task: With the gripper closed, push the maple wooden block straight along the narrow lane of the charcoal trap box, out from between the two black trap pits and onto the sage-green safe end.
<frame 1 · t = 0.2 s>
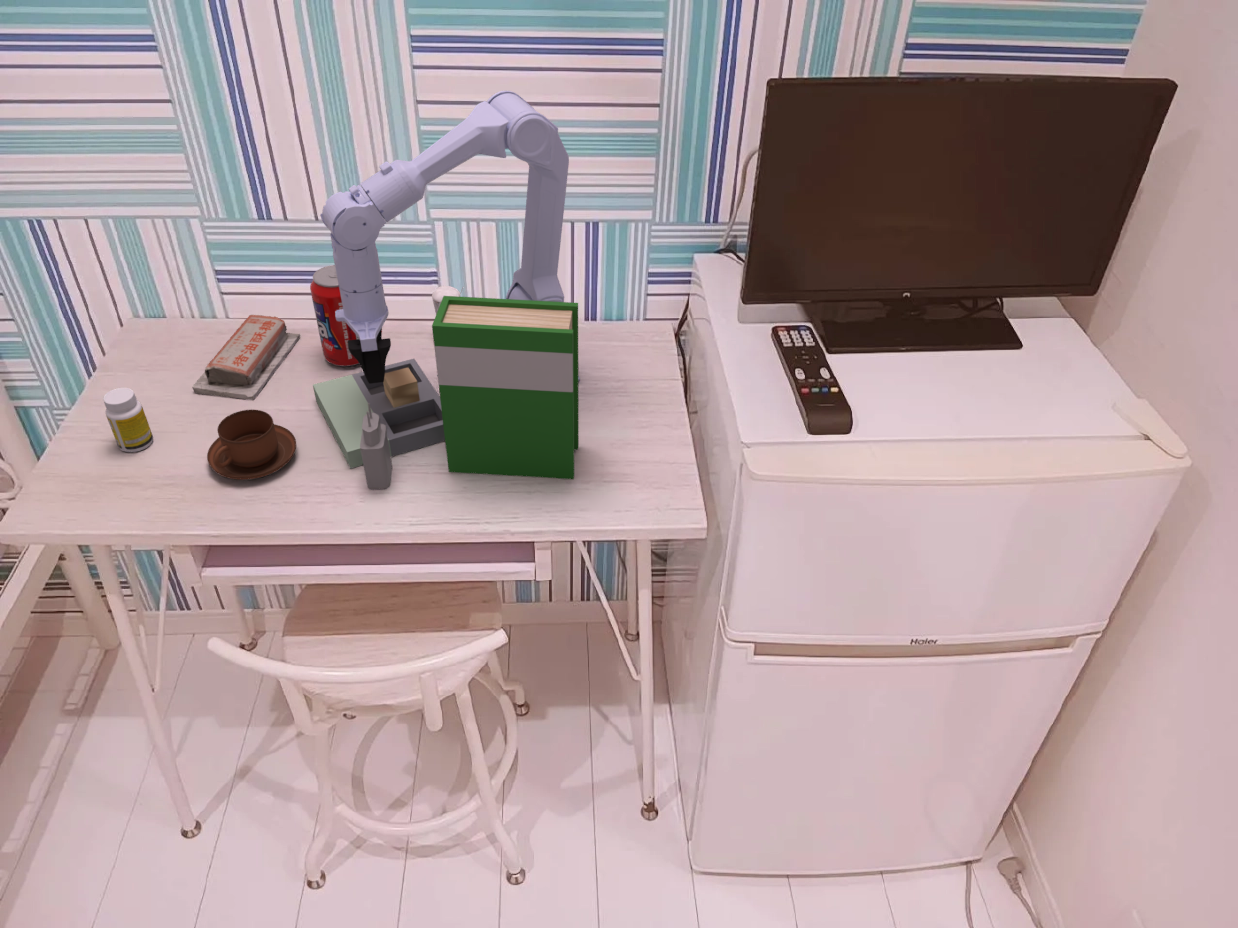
hand: (374, 366, 141), 10 cm above the table, tool pointing down, fingers open, 7 cm apart
maple block: (402, 397, 147), point 3 cm above the table, touching trap box
trap box: (385, 418, 148), on the table
packaged product: (250, 367, 158), on the table
hardback book: (514, 459, 141), on the table
milkshake: (452, 338, 165), on the table
soda can: (349, 357, 160), on the table
supplement bottle: (136, 444, 142), on the table
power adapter: (380, 477, 138), on the table
cup and saucer: (255, 460, 140), on the table
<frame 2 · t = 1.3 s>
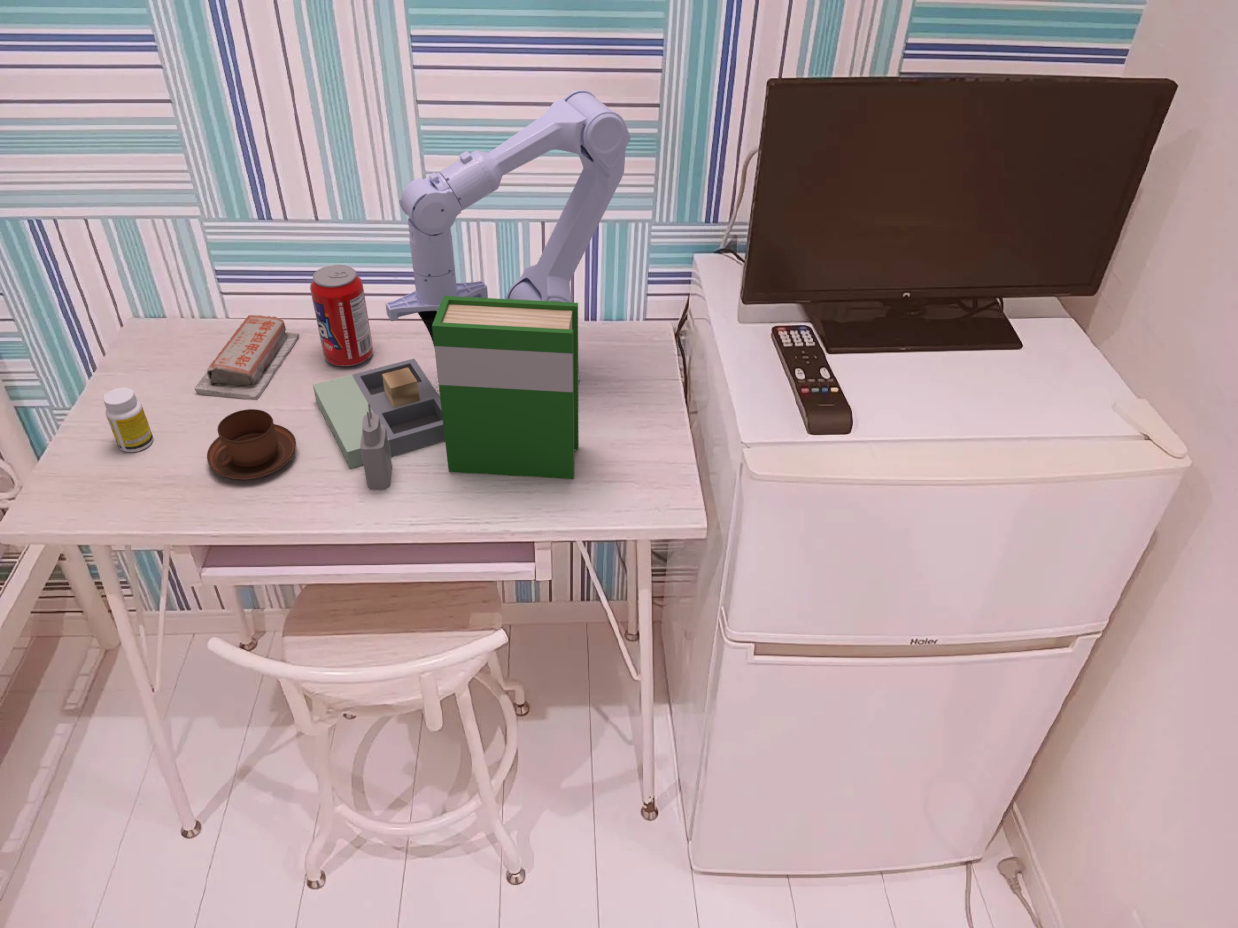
hand: (442, 349, 145), 9 cm above the table, tool pointing down, fingers closed
nothing on the table moved.
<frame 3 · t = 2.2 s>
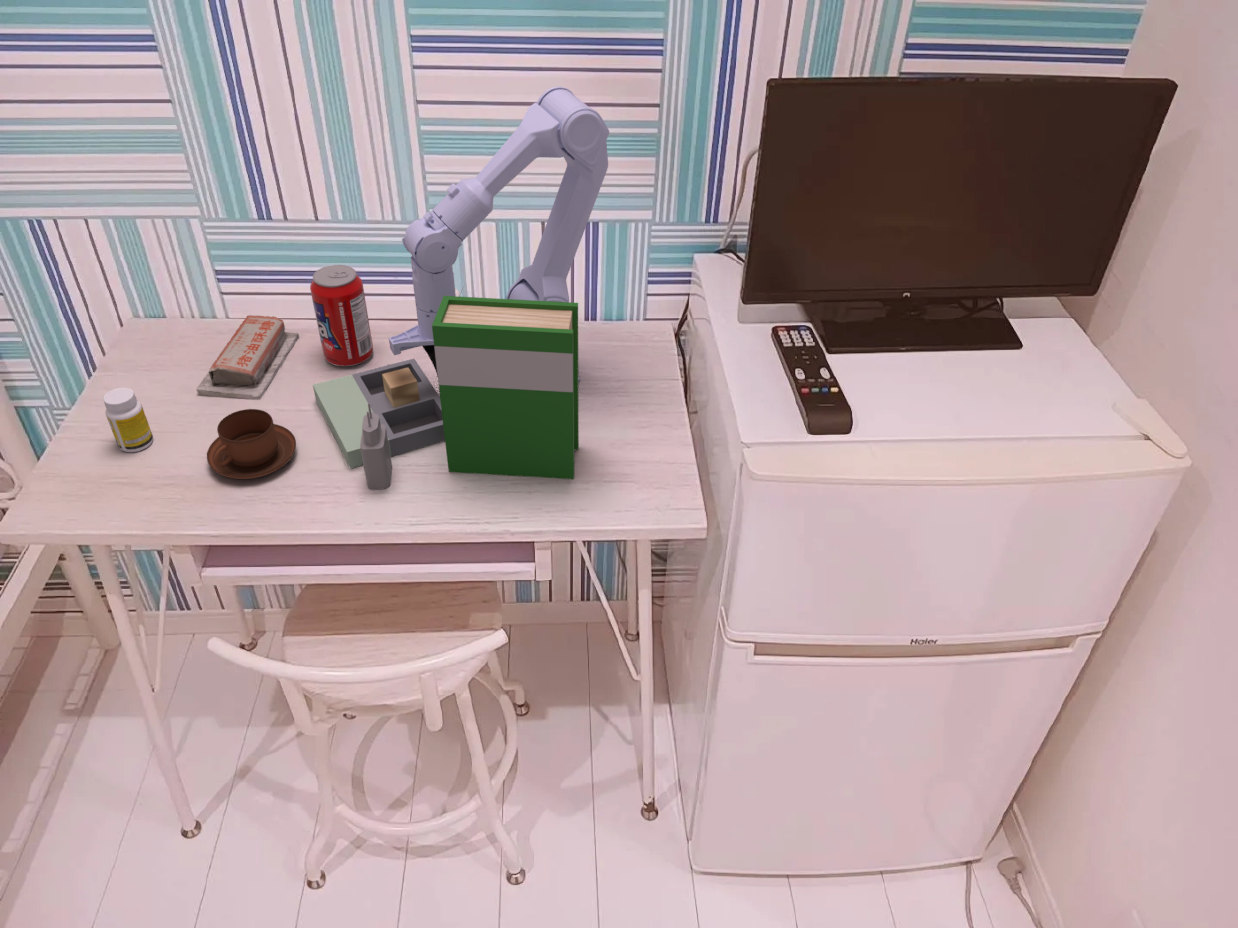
hand: (444, 381, 149), 4 cm above the table, tool pointing down, fingers closed
nothing on the table moved.
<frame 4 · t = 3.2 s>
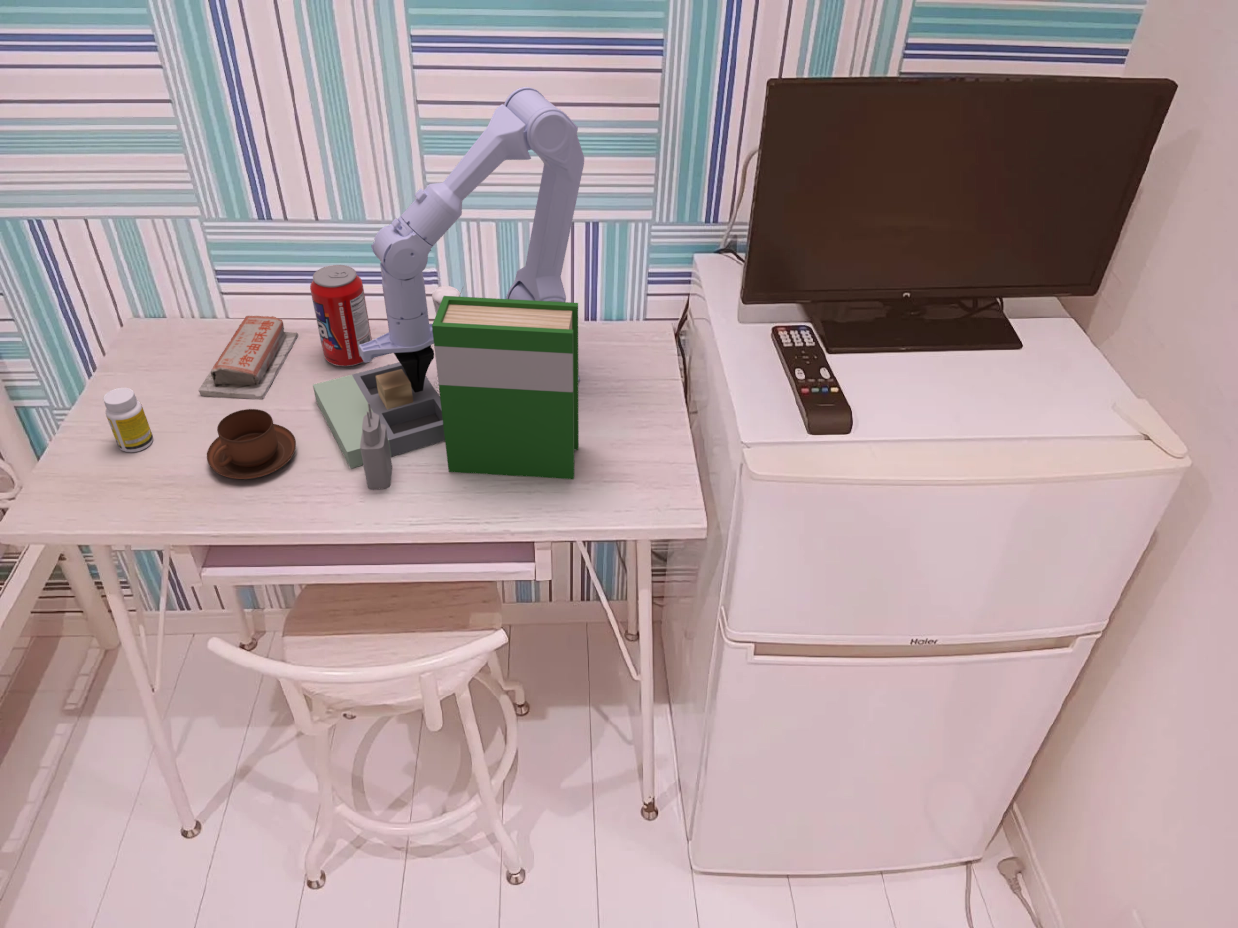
hand: (417, 388, 147), 4 cm above the table, tool pointing down, fingers closed
maple block: (395, 398, 146), point 3 cm above the table, touching gripper
everything else where it was.
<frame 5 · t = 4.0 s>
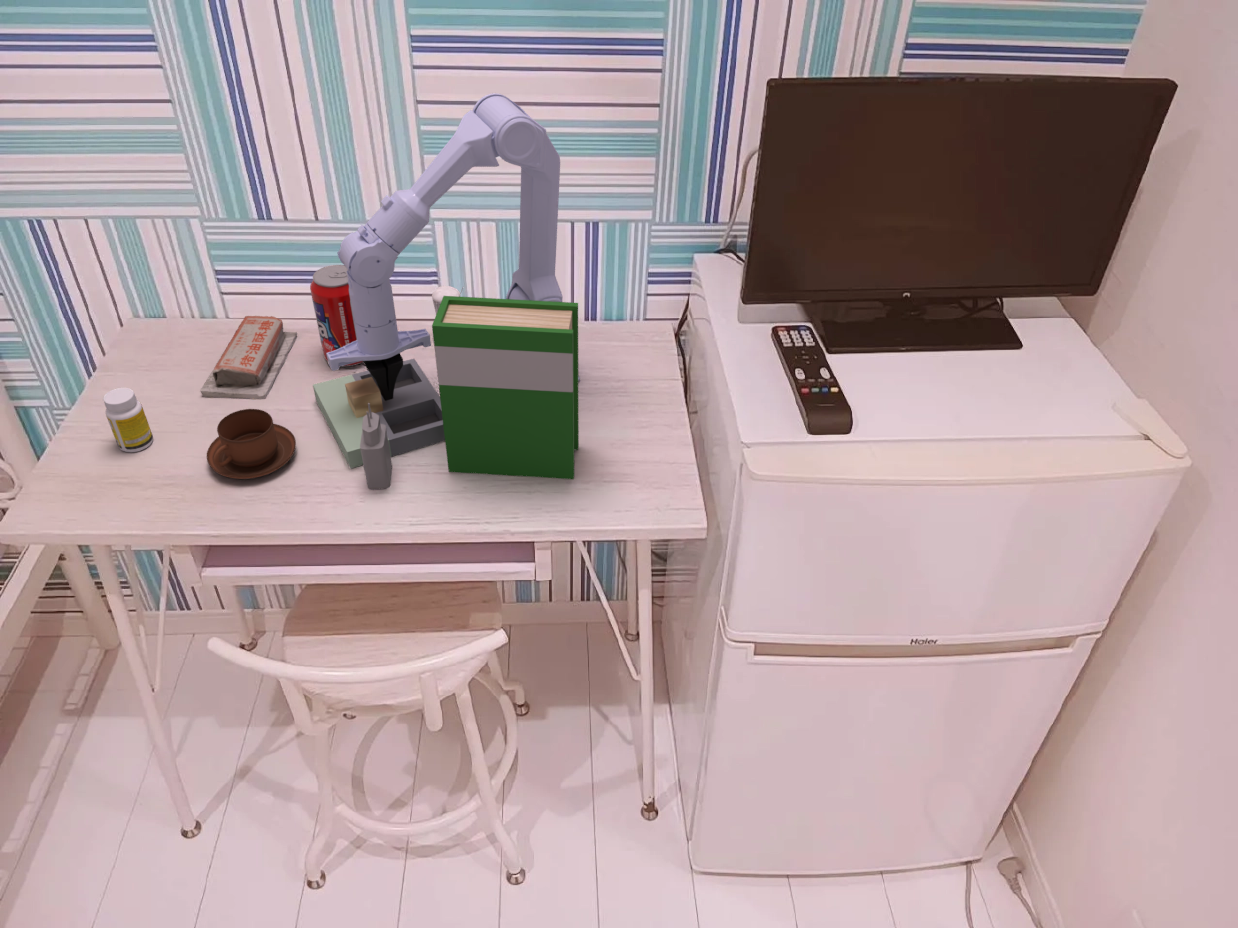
hand: (387, 396, 145), 4 cm above the table, tool pointing down, fingers closed
maple block: (365, 407, 145), point 3 cm above the table, touching gripper
everything else where it was.
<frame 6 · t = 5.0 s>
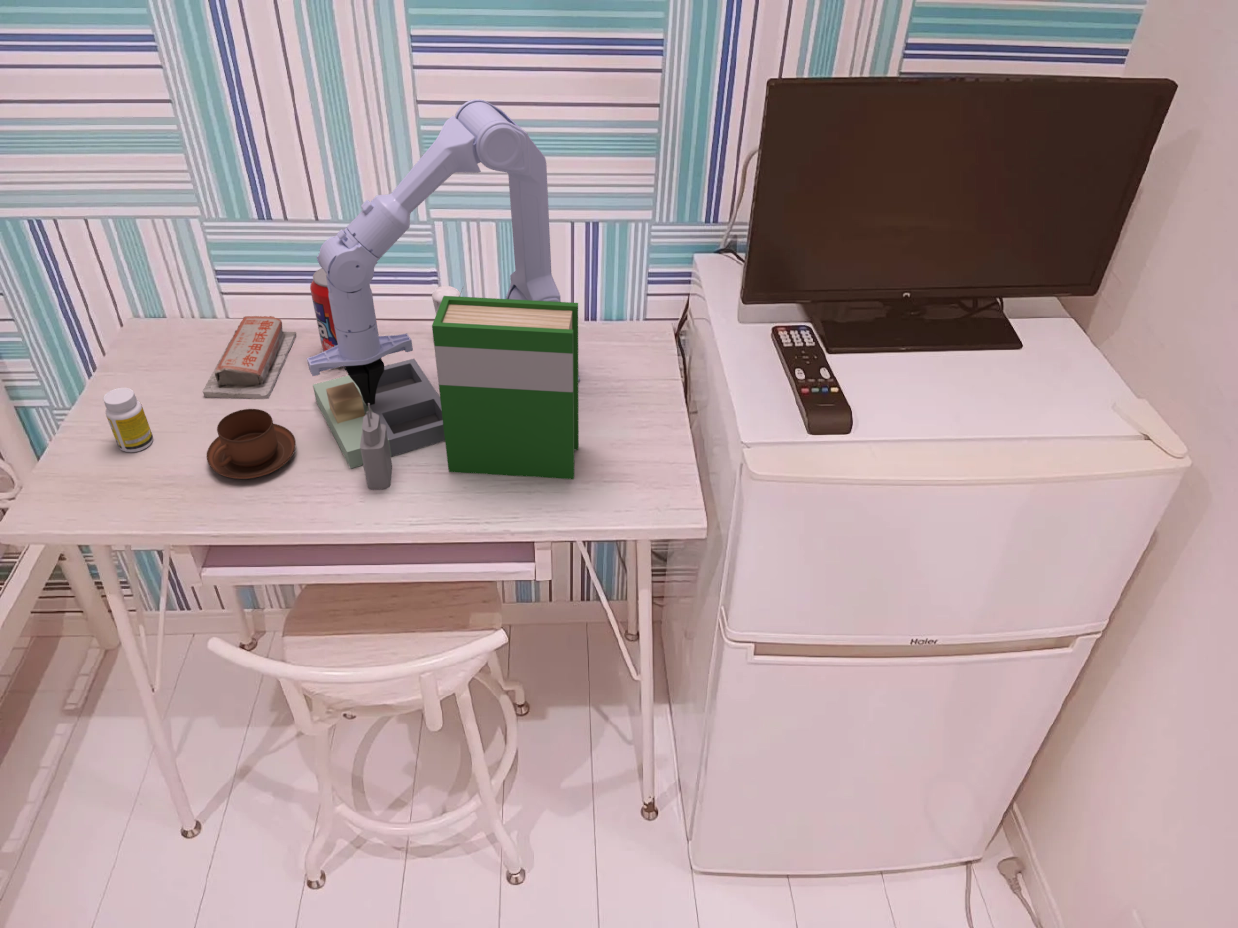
hand: (368, 401, 144), 4 cm above the table, tool pointing down, fingers closed
maple block: (347, 412, 144), point 3 cm above the table, touching gripper, trap box
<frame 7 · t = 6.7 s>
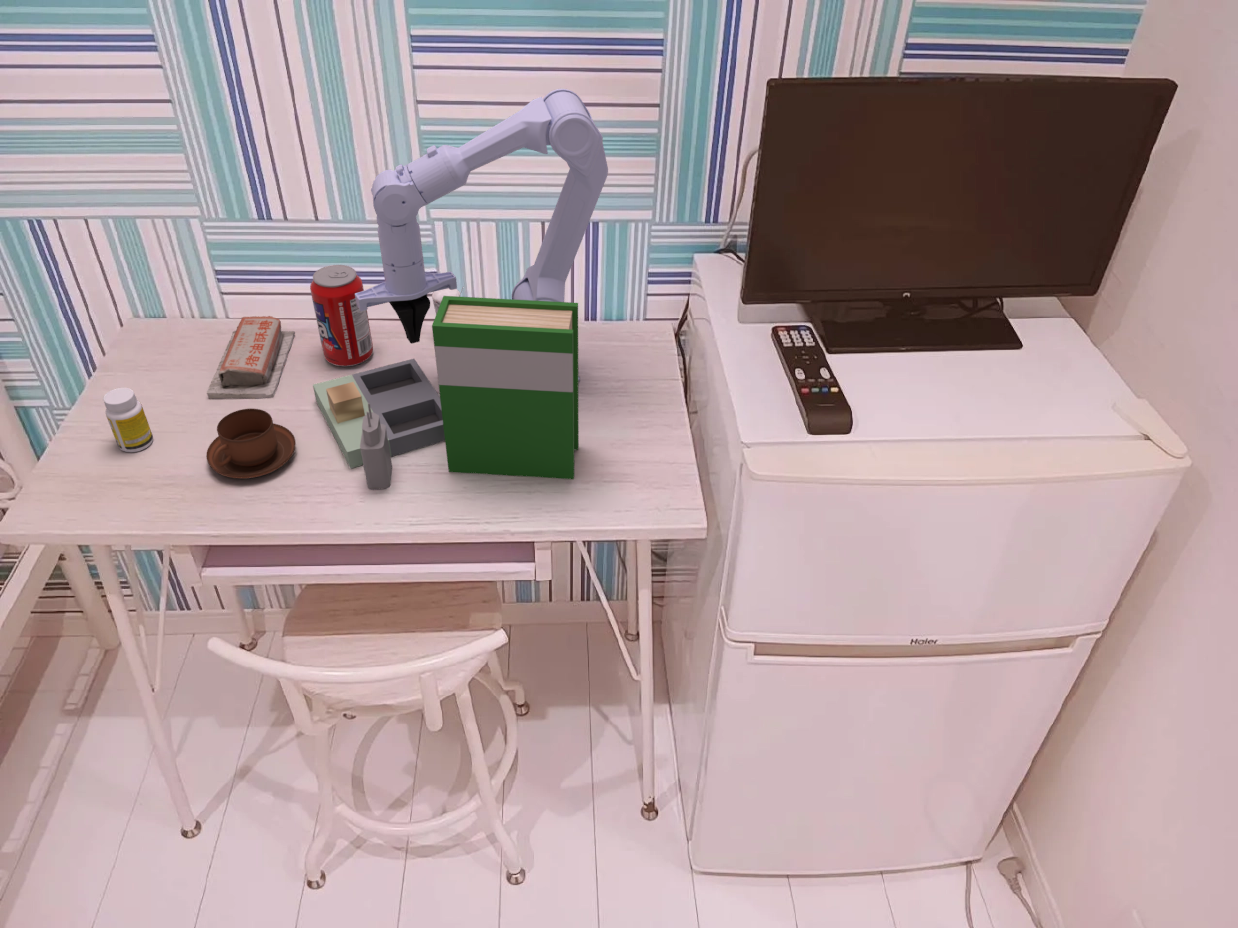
hand: (413, 339, 147), 9 cm above the table, tool pointing down, fingers closed
maple block: (347, 412, 144), point 3 cm above the table, touching trap box
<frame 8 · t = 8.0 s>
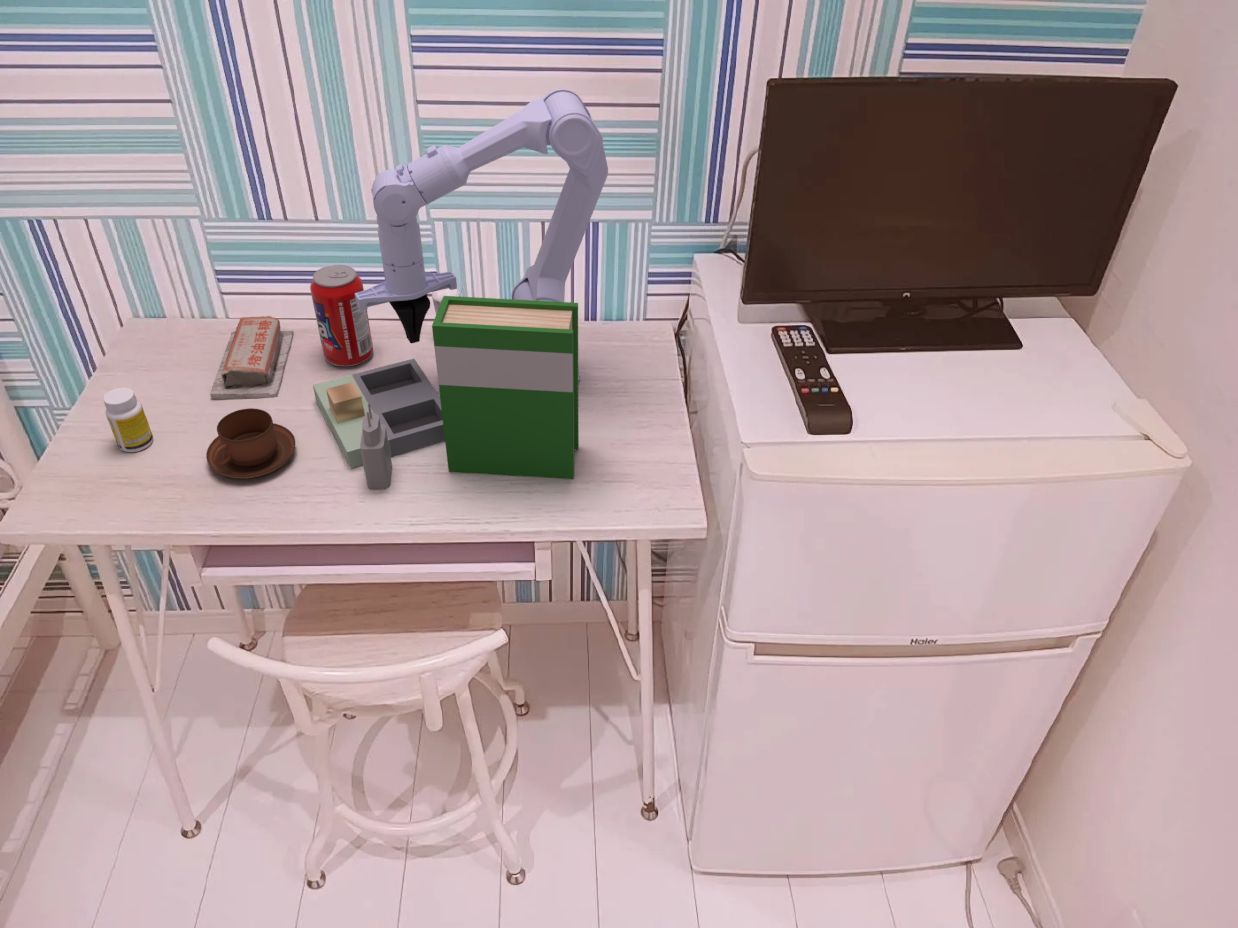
hand: (413, 339, 147), 9 cm above the table, tool pointing down, fingers closed
at the end: maple block inside the target area on the trap box (0.3 cm from its centre), point 3.0 cm above the trap box's base; maple block tilted 0° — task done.
